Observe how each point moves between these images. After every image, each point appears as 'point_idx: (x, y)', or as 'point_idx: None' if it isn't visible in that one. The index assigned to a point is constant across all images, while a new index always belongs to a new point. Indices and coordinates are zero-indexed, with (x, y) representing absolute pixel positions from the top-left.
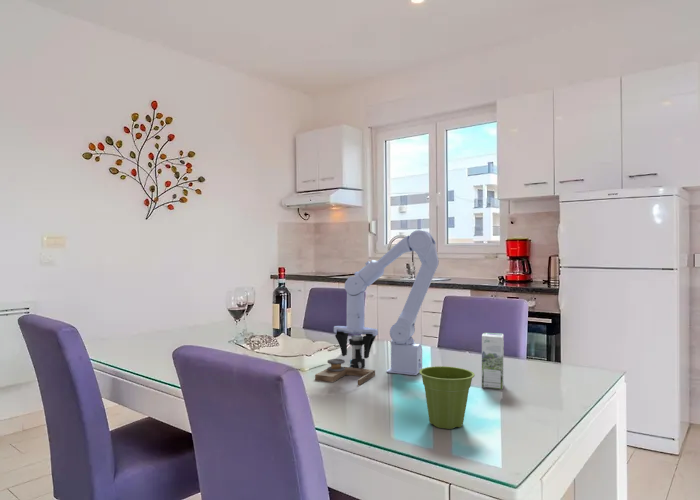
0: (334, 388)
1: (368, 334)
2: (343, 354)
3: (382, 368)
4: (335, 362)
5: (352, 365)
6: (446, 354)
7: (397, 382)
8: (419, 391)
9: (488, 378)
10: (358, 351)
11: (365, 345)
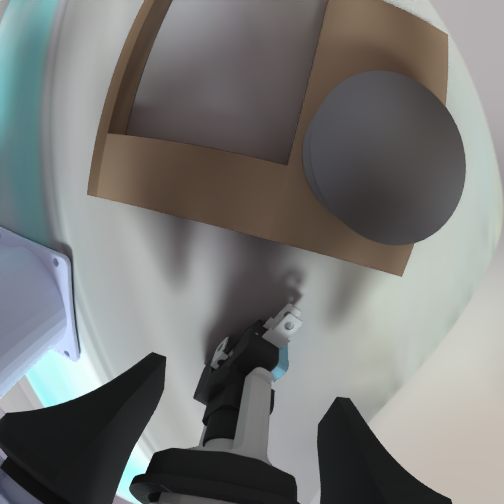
0: None
1: (35, 494)
2: (343, 403)
3: (113, 341)
4: (389, 86)
5: (267, 335)
6: None
7: (27, 102)
8: (3, 46)
9: None
10: (213, 423)
11: (95, 412)
